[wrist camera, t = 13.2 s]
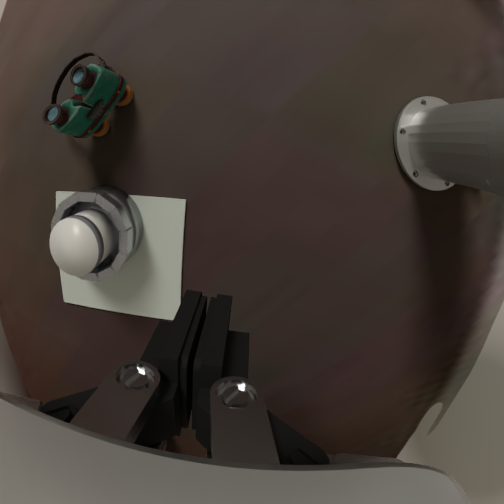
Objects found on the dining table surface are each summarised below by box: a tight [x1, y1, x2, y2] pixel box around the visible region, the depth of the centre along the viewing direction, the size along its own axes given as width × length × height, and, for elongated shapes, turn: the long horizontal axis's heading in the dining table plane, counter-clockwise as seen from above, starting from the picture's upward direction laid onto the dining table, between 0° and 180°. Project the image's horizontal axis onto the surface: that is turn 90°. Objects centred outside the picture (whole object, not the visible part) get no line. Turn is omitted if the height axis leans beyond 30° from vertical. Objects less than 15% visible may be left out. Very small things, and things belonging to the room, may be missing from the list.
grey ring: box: [51, 186, 143, 282], centre depth 32 cm, size 10×10×6 cm
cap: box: [50, 209, 117, 276], centre depth 29 cm, size 6×6×5 cm
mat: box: [56, 191, 186, 320], centre depth 36 cm, size 18×16×1 cm
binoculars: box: [42, 52, 133, 138], centre depth 26 cm, size 9×11×10 cm
